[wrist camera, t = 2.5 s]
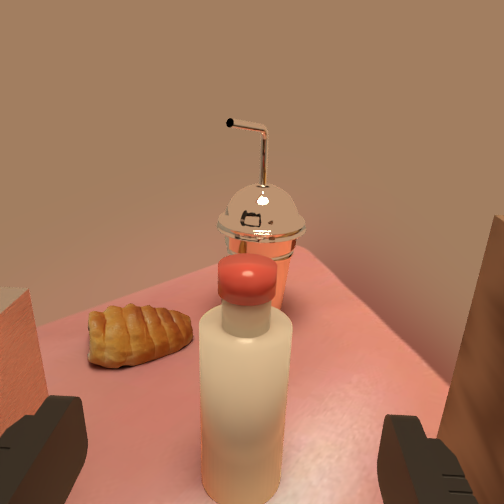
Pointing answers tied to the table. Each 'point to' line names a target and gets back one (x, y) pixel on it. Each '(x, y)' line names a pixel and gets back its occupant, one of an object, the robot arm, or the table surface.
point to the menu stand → (481, 382)
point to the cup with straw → (262, 218)
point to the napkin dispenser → (19, 358)
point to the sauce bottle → (243, 383)
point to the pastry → (136, 334)
